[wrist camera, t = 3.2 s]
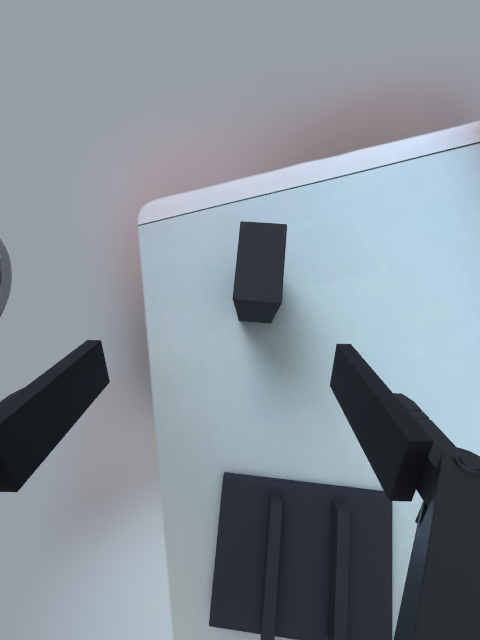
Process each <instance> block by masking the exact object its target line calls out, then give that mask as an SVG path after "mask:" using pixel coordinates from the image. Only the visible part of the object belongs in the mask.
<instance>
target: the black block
mask: <svg viewBox="0 0 480 640" xmlns="http://www.w3.org/2000/svg"><path fill="white" fill-rule="evenodd" d="M286 232H287V225H286V224H273V223H257V222H241V223H240V232H239V242H238V252H237V262H236V272H235V282H234V292H233V301H234V305H235V308H236V312H237V315H238V319H239V321H248V322H260V323H271V322H272V320H273V318H274V316H275V314H276V312H277V311H278V309H279V307H280V305H281V303H282V289H283V275H284V261H285V246H286Z"/></svg>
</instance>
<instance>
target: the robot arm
mask: <svg viewBox="0 0 480 640" xmlns="http://www.w3.org/2000/svg"><path fill="white" fill-rule="evenodd" d="M109 382H110V381H109V376H108V372H107V367H106V362H105V357H104V353H103V348H102V343H101V341H100V340H87V341H86V342H84V343H83V344H82V345H80V346H79V347H78V348H77V349H75V350H74V351H72V352H71V353H70V354H68V355H67V356H66V357H65V358H64V359H62V360H61V361H59V362H58V363H57V364H55V365H54V366H53V367H51V368H50V369H49V370H47V371H46V372H45V373H43V374H42V375H41V376H39V377H38V378H37V379H36V380H34V381H33V382H32V383H30V384H29V385H28V386H26V387H25V388H22V389H20V390H19V391H16V392H14V393H12V394H10V395H9V396H8V397H6V398H5V399H3V400H2V401H1V402H0V492H18V490H19V489H20V488H21V487H22V486H23V484H24V483H25V482H26V481H27V480H28V479H29V477H30V476H31V475H32V474H33V473H34V471H35V470H36V469H37V468H38V467H39V466H40V464H41V463H42V462H43V461H44V460H45V458H46V457H47V456H48V455H49V454H50V452H51V451H52V450H53V449H54V448H55V447H56V445H57V444H58V443H59V442H60V441H61V439H62V438H63V437H64V436H65V434H66V433H67V432H68V431H69V430H70V428H71V427H72V426H73V425H74V424H75V423H76V422H77V420H78V419H79V418H80V417H81V416H82V414H83V413H84V412H85V411H86V410H87V408H88V407H89V406H90V405H91V404H92V402H93V401H94V400H95V399H96V398H97V397H98V395H99V394H100V393H101V392H102V390H103V389H104V388H105V387H106V386H107V385H108V383H109ZM330 387H331V389H332V391H333V393H334V395H335V397H336V398H337V400H338V402H339V404H340V406H341V408H342V410H343V412H344V414H345V416H346V418H347V420H348V422H349V424H350V426H351V428H352V430H353V431H354V433H355V435H356V437H357V439H358V441H359V443H360V445H361V447H362V449H363V451H364V453H365V455H366V457H367V459H368V461H369V463H370V464H371V466H372V468H373V470H374V472H375V474H376V476H377V478H378V480H379V482H380V484H381V486H382V488H383V490H384V492H385V494H386V495H387V497H388V499H389V501H412V498H413V496H414V493H415V490H417V491H418V493H419V494H420V496H421V498H422V499H423V503H422V506H421V508H420V511H419V513H418V516H417V518H416V521H415V522H416V523H418V524H417V529H416V534H415V539H414V543H413V548H412V553H411V558H410V563H409V568H408V573H407V577H406V582H405V587H404V592H403V597H402V602H401V607H400V611H399V616H398V621H397V626H396V631H395V636H394V640H480V457H479V456H478V455H476V454H474V453H472V452H470V451H467V450H464V449H461V448H457V447H456V446H455V445H454V444H453V443H452V442H451V441H450V440H449V439H448V438H447V437H446V436H445V434H444V433H443V432H442V431H441V430H440V429H439V428H438V427H437V426H436V425H435V424H434V423H433V422H432V421H431V420H429V417H428V416H427V415H426V414H425V413H424V412H422V410H421V409H420V408H419V407H418V406H417V405H416V403H415V402H414V401H412V400H411V399H409V398H408V397H406V396H405V395H403V394H398V393H392V392H391V391H390V389H389V388H388V387H387V386H386V385H385V384H384V382H383V381H382V380H381V379H380V378H379V377H378V375H377V374H376V373H375V372H374V371H373V370H372V368H371V367H370V366H369V365H368V364H367V363H366V361H365V360H364V359H363V358H362V357H361V356H360V354H359V353H358V352H357V351H356V350H355V349H354V347H353V346H352V345H351V344H337V345H336V352H335V358H334V364H333V370H332V376H331V383H330Z"/></svg>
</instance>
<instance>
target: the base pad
mask: <svg viewBox="0 0 480 640" xmlns="http://www.w3.org/2000/svg"><path fill="white" fill-rule="evenodd" d="M209 626H212V627H218V628H225V629H231V630H238V631H244V632H251V633H257V634H261V640H274V638H275V636H277V637H283V638H290V639H296V640H392V501H389V499H388V497H387V495H386V494H385V492H384V491H376V490H368V489H360V488H351V487H343V486H335V485H326V484H318V483H310V482H301V481H293V480H284V479H276V478H268V477H259V476H251V475H243V474H234V473H226V472H225V473H224V476H223V485H222V495H221V506H220V516H219V527H218V537H217V548H216V558H215V568H214V579H213V589H212V600H211V610H210V621H209Z"/></svg>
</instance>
